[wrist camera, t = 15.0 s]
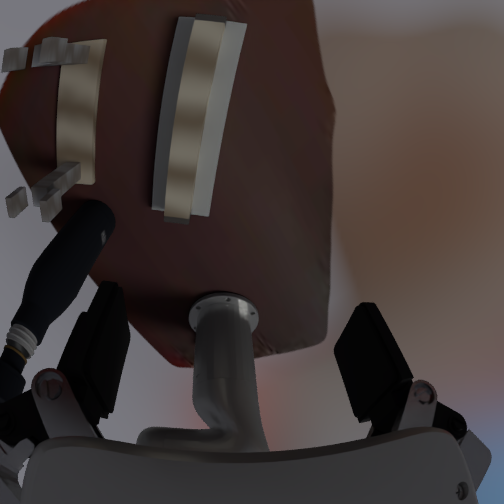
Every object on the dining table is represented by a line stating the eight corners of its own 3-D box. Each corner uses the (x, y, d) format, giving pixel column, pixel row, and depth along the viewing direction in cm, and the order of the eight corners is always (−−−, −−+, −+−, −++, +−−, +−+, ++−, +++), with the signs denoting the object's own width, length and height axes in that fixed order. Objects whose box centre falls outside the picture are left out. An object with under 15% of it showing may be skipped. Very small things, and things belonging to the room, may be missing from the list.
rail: (191, 213, 37) (188, 224, 35) (168, 210, 37) (163, 221, 34) (226, 22, 24) (226, 16, 21) (199, 19, 23) (196, 13, 20)
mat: (208, 214, 38) (208, 216, 38) (152, 207, 37) (151, 209, 37) (246, 25, 24) (247, 24, 24) (179, 17, 23) (179, 16, 22)
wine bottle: (72, 213, 36) (-36, 379, 11) (98, 191, 35) (-25, 373, 10) (96, 243, 39) (15, 419, 15) (123, 225, 38) (39, 420, 14)
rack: (96, 182, 34) (50, 229, 23) (60, 179, 33) (10, 223, 22) (108, 39, 23) (52, 28, 12) (67, 44, 22) (5, 42, 11)
